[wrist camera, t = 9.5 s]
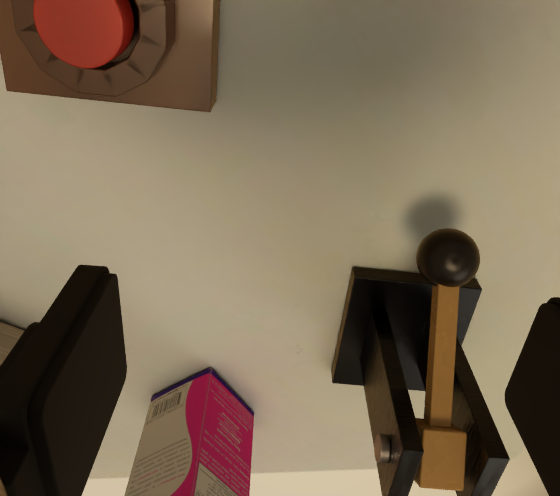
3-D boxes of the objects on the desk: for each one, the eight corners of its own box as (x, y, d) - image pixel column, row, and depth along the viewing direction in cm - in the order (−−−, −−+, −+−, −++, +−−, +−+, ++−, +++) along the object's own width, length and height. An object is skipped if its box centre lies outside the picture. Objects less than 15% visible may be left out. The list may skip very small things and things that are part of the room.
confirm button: (132, -26, 21) (120, -24, 20) (136, 65, 23) (125, 73, 21) (44, -36, 21) (25, -35, 19) (55, 56, 23) (38, 64, 21)
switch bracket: (352, 266, 32) (381, 412, 22) (476, 278, 33) (560, 427, 22) (331, 371, 37) (346, 532, 27) (440, 380, 37) (496, 543, 27)
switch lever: (410, 229, 29) (429, 221, 26) (466, 235, 29) (492, 227, 26) (394, 467, 28) (412, 490, 24) (452, 472, 28) (477, 495, 24)
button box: (222, -76, 23) (210, -80, 20) (216, 101, 27) (205, 123, 24) (-1, -102, 23) (-53, -111, 19) (26, 81, 27) (-13, 100, 23)
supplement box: (198, 440, 41) (168, 596, 31) (150, 395, 38) (101, 549, 29) (258, 413, 39) (247, 569, 29) (211, 364, 37) (182, 517, 27)
